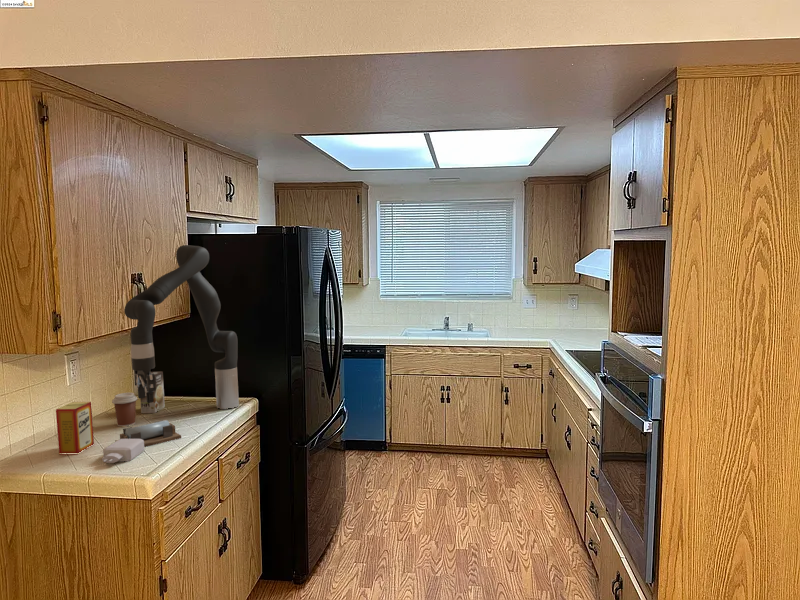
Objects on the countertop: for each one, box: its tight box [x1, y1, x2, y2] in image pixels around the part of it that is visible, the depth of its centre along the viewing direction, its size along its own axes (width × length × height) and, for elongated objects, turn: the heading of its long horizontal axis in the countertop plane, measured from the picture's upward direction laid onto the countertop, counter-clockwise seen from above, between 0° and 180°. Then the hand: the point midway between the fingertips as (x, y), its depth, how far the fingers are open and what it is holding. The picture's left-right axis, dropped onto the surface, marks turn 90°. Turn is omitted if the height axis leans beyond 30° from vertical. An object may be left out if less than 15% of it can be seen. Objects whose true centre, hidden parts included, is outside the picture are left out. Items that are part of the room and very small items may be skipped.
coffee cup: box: [111, 392, 138, 427], centre depth 226 cm, size 9×9×12 cm
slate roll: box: [125, 419, 170, 440], centre depth 206 cm, size 14×5×5 cm, turn 133°
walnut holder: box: [114, 419, 182, 448], centre depth 206 cm, size 12×19×5 cm, turn 133°
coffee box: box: [139, 371, 166, 414], centre depth 246 cm, size 9×6×16 cm
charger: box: [101, 438, 145, 464], centre depth 188 cm, size 5×9×15 cm
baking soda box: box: [55, 401, 95, 454], centre depth 198 cm, size 10×6×16 cm
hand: (146, 400), depth 205 cm, fingers open, 8 cm apart
